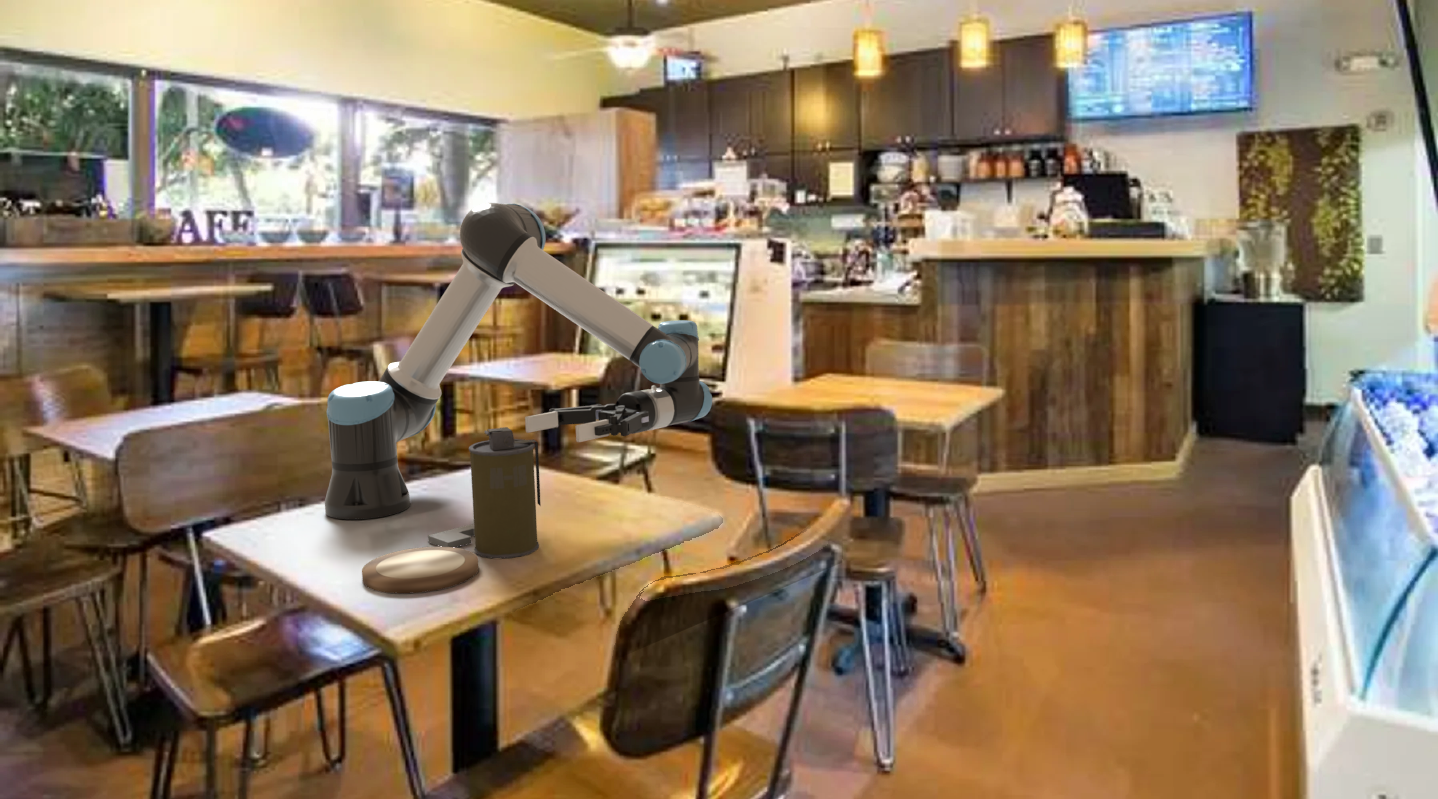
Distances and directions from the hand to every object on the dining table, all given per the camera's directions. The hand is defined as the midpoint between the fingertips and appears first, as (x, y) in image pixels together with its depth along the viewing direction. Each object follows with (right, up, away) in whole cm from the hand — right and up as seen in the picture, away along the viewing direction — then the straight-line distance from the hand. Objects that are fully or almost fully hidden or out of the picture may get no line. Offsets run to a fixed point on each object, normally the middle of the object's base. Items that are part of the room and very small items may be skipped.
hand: (551, 429), depth 168 cm
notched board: (-14, -19, +2) cm, 24 cm away
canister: (-6, -20, -4) cm, 21 cm away
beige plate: (-17, -22, -16) cm, 32 cm away
